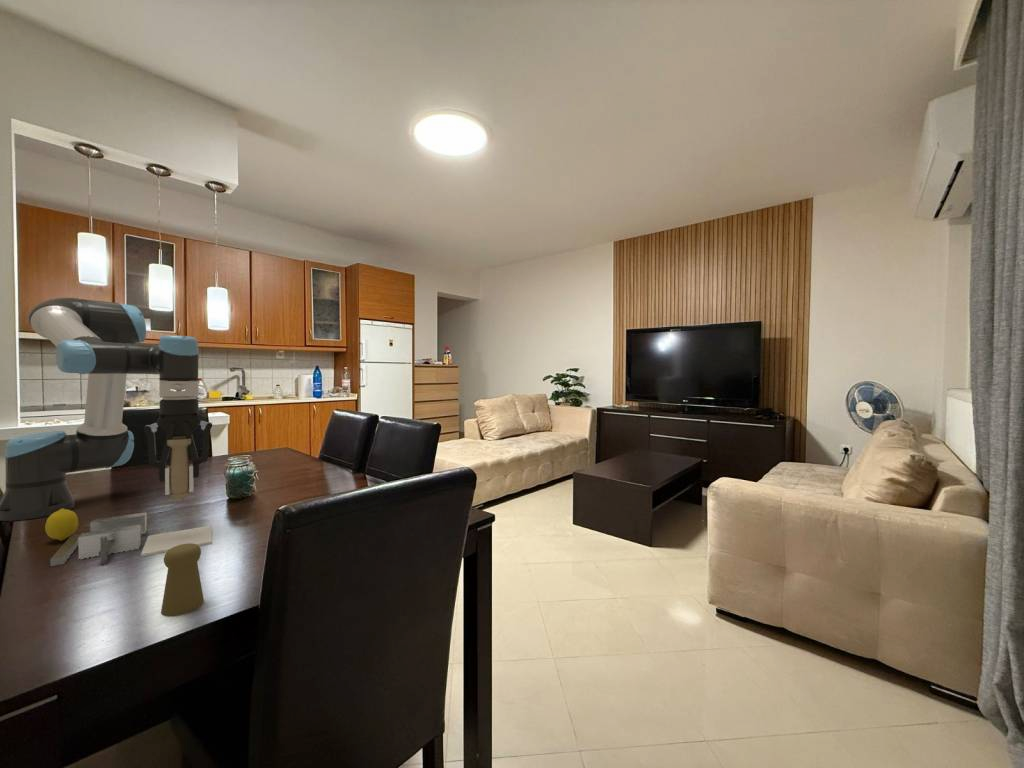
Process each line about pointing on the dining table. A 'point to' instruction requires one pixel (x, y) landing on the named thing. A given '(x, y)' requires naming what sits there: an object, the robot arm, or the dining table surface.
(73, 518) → the lemon
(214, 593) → the dining table surface
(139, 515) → the vise
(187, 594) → the cork
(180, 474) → the handle
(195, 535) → the mat
